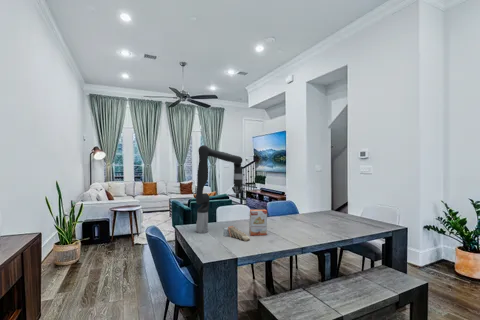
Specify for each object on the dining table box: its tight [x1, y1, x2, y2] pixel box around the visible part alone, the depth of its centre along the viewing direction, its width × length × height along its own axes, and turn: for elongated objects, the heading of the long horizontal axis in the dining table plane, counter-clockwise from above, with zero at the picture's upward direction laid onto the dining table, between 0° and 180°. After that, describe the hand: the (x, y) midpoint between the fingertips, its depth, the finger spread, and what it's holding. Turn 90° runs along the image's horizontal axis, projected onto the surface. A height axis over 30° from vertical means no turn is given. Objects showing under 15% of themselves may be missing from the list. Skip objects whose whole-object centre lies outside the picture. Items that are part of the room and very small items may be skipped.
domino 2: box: [229, 226, 237, 238], centre depth 204 cm, size 2×5×8 cm
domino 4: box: [235, 229, 244, 241], centre depth 199 cm, size 2×5×8 cm
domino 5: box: [239, 231, 251, 242], centre depth 196 cm, size 2×5×8 cm
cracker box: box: [248, 209, 268, 237], centre depth 211 cm, size 14×6×21 cm, turn 101°
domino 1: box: [227, 225, 234, 237], centre depth 206 cm, size 2×5×8 cm, turn 136°
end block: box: [222, 227, 230, 238], centre depth 209 cm, size 3×10×6 cm, turn 135°
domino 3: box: [232, 228, 239, 240], centre depth 202 cm, size 2×5×8 cm
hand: (237, 198), depth 222 cm, fingers closed
